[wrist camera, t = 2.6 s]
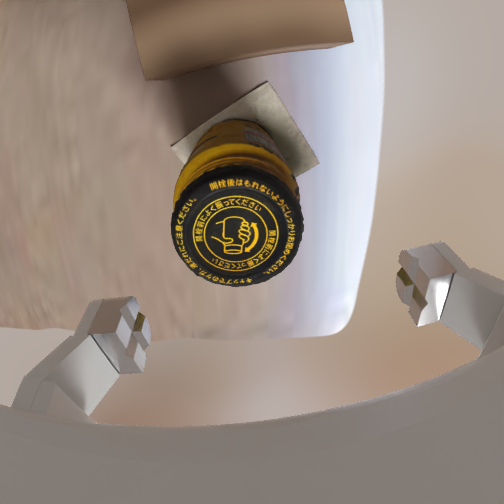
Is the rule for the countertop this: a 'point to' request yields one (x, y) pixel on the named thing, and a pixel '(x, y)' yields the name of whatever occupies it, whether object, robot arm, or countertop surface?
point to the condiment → (241, 192)
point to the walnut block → (230, 31)
